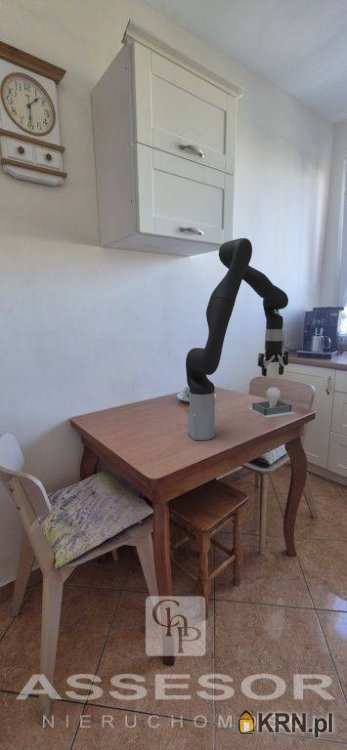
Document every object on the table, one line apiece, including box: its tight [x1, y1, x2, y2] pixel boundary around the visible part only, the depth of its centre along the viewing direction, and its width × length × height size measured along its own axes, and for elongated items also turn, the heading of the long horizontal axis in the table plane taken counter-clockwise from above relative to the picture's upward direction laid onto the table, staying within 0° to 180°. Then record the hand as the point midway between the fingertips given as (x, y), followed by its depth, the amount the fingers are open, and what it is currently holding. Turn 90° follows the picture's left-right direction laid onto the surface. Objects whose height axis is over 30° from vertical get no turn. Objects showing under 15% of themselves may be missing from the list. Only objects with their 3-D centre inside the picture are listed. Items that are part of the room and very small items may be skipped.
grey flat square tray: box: [248, 399, 297, 419], centre depth 146 cm, size 15×15×3 cm
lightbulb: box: [266, 386, 282, 407], centre depth 145 cm, size 6×6×11 cm
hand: (272, 375), depth 143 cm, fingers open, 8 cm apart
